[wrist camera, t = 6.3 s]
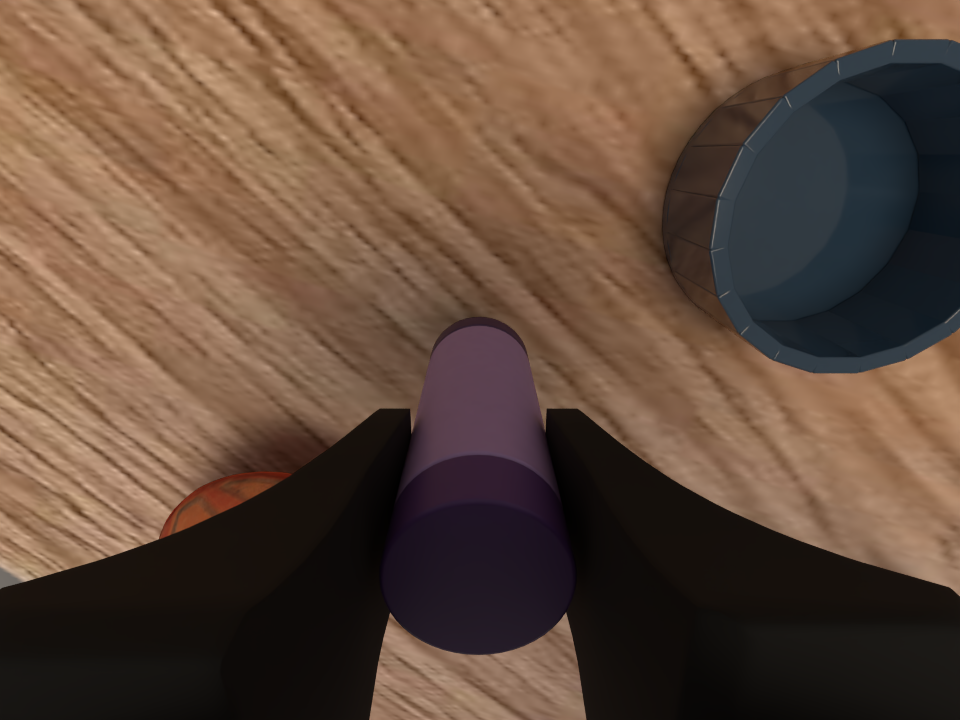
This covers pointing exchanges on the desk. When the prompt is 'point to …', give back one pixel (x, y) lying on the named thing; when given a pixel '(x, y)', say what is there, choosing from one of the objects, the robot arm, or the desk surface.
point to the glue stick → (478, 503)
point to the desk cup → (828, 208)
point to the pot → (219, 498)
